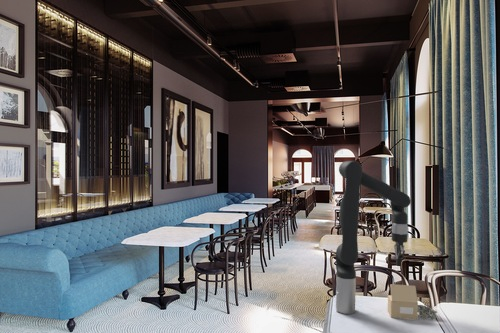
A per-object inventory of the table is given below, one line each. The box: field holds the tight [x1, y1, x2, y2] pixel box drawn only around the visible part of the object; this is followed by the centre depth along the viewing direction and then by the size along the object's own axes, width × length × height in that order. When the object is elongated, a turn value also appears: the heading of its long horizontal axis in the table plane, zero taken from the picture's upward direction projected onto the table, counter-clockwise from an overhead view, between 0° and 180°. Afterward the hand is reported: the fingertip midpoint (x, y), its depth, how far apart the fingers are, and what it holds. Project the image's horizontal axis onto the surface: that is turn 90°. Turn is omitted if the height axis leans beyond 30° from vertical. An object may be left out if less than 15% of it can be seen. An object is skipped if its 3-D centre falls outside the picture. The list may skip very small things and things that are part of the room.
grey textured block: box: [418, 304, 438, 320], centre depth 182 cm, size 11×8×4 cm
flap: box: [390, 283, 419, 303], centre depth 179 cm, size 12×8×1 cm
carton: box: [387, 294, 419, 321], centre depth 181 cm, size 12×9×8 cm
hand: (398, 265), depth 190 cm, fingers closed
